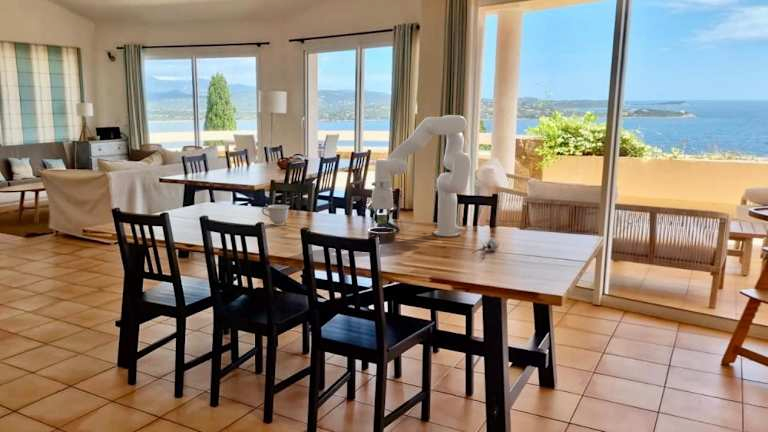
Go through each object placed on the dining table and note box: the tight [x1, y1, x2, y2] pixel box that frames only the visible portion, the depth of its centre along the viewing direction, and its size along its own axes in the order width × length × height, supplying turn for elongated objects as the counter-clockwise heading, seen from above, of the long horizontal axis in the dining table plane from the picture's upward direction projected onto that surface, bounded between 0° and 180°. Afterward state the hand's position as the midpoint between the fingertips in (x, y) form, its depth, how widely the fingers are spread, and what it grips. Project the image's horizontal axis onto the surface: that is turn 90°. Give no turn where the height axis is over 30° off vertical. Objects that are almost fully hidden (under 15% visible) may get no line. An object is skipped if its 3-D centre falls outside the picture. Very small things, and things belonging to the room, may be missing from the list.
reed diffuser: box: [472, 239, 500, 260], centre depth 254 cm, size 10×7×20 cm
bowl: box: [367, 227, 397, 244], centre depth 279 cm, size 13×13×5 cm
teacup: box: [261, 204, 290, 226], centre depth 314 cm, size 12×15×10 cm
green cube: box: [376, 212, 387, 225], centre depth 278 cm, size 4×4×4 cm
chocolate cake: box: [376, 221, 401, 234], centre depth 300 cm, size 10×7×12 cm
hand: (381, 222), depth 278 cm, fingers closed on green cube, 4 cm apart
